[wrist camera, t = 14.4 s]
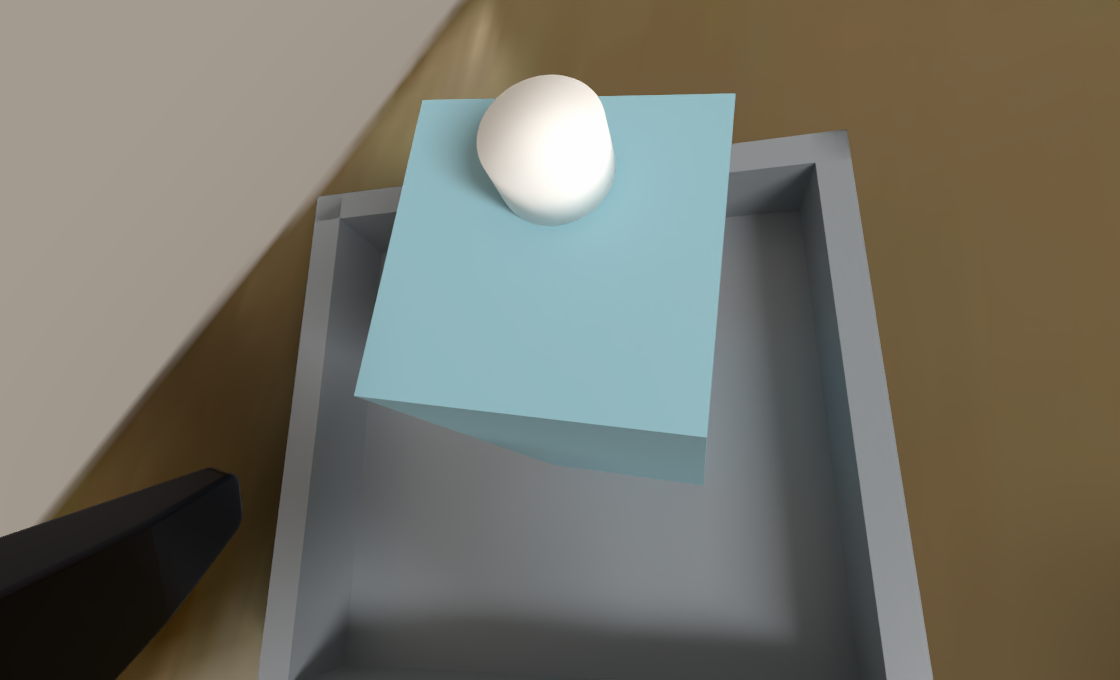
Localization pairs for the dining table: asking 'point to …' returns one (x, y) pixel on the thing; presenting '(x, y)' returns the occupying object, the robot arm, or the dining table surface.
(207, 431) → the dining table surface
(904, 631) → the gray square tray
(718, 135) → the carton
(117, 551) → the robot arm
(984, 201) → the dining table surface
